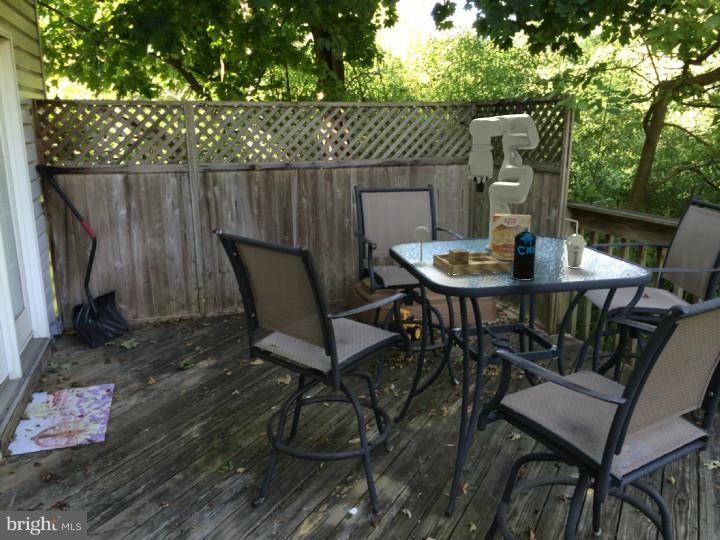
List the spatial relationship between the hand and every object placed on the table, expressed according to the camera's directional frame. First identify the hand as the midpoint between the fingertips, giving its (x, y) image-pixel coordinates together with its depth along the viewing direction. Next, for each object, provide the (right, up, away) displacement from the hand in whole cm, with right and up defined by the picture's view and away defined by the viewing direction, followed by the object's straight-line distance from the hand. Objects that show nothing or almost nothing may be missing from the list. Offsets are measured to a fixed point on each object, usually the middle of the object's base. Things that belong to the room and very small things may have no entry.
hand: (479, 192), depth 250 cm
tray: (-6, -33, -11) cm, 35 cm away
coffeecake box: (+14, -29, +4) cm, 32 cm away
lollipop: (-25, -29, +5) cm, 39 cm away
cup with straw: (+36, -33, -13) cm, 50 cm away
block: (-12, -32, -18) cm, 38 cm away
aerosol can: (+11, -37, -29) cm, 48 cm away
